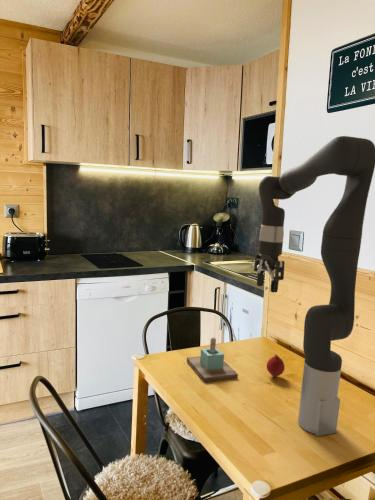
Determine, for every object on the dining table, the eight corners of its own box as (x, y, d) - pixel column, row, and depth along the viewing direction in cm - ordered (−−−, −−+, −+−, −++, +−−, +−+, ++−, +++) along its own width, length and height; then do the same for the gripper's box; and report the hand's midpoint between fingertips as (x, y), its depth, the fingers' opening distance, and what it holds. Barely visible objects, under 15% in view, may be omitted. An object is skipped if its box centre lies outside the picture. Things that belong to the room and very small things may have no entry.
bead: (223, 368, 137) (224, 354, 136) (206, 370, 135) (207, 355, 134) (215, 361, 142) (216, 347, 142) (200, 362, 140) (201, 348, 140)
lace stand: (237, 378, 134) (240, 345, 132) (204, 382, 129) (206, 348, 128) (217, 358, 148) (219, 328, 147) (186, 361, 144) (188, 330, 142)
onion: (282, 373, 139) (284, 351, 138) (284, 381, 133) (286, 358, 132) (265, 372, 139) (267, 350, 138) (266, 379, 134) (268, 356, 133)
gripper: (294, 242, 124) (288, 294, 127) (269, 237, 138) (265, 283, 140) (273, 242, 122) (268, 294, 124) (249, 236, 135) (245, 284, 137)
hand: (266, 288), depth 132 cm, fingers open, 8 cm apart
